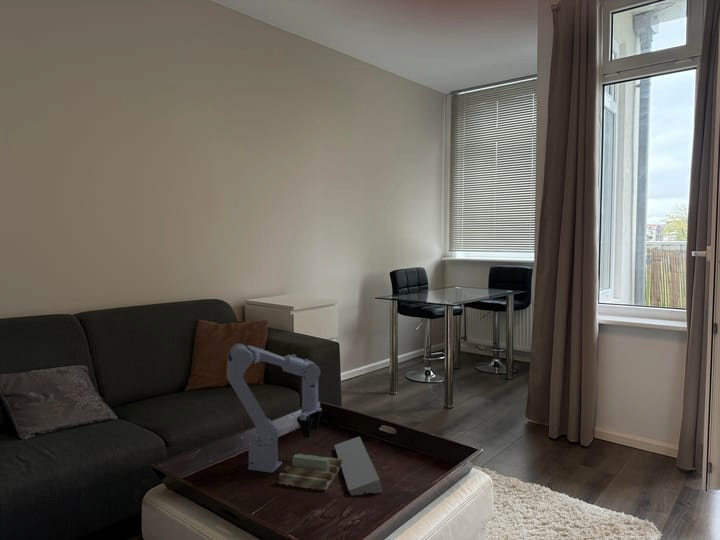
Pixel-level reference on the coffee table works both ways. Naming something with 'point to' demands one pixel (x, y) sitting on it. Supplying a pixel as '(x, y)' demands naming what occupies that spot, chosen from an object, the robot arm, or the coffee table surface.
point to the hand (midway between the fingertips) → (310, 433)
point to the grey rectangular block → (358, 468)
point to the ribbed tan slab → (311, 475)
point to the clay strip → (311, 462)
